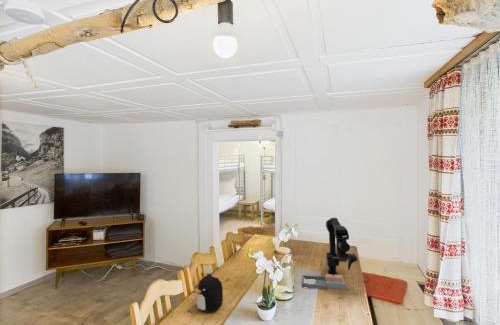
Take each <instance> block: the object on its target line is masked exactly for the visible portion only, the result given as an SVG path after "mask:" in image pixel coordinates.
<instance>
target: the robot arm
mask: <svg viewBox="0 0 500 325" xmlns="http://www.w3.org/2000/svg"><path fill="white" fill-rule="evenodd" d="M325 227H326V230H327V233H328V240H329V241H328V242H329V245H328V246H329V252H326V253H325V256H326V257H325V258H326V260H325V264H326V266H327V267H328V269H327V274H333V276H334V275H339V274H338V271H337V267H339V265H340V263H342V262H345V263H347V270H348V271H350V269H351V266H352V264H354V263H355V262H357V261H358V257H357V256H356V254H355V253H348V252H349V251H350V249H351V245H349V243H348V242H347V240H349V238H350V234H349V231H348V229H347V228H346V227H345V226H344V225H342V224H341V222H340V221H339V220H338V217H331V218H330V217H329V219H328V220H326V222H325Z"/></svg>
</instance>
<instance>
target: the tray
mask: <svg viewBox="0 0 500 325" xmlns="http://www.w3.org/2000/svg"><path fill="white" fill-rule="evenodd" d="M304 278H305V279H315V280H316V282H315V284H308V283H304ZM301 280H302V282H301V283H302V284H303V285H302V284H301V285H302V288H303V287H307V288H306V289H315V288H317V289H318V290H319V289H320V290H328V288H327V285H326V282H325V275H310V274H308V275H307V274H302V275H301Z"/></svg>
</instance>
